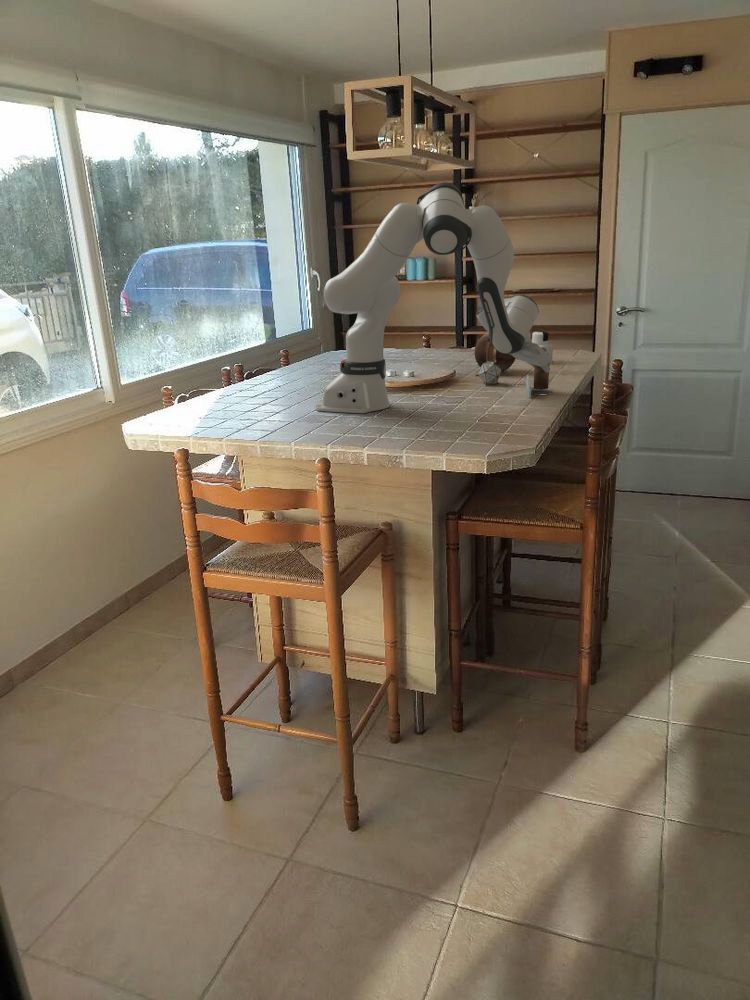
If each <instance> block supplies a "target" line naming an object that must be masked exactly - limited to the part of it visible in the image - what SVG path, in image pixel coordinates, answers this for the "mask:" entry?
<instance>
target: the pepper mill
mask: <svg viewBox="0 0 750 1000" xmlns="http://www.w3.org/2000/svg"><path fill="white" fill-rule="evenodd" d="M541 348H542V349H543V350H544V351H545V352H546V349H545V348H544V347H541ZM547 354H548V353H547ZM548 355H549V354H548ZM548 366H549V367H550V364H548ZM533 369H534V370H533V390H537V389H542V390H549V381H550V380H549V379H550V371H549V372H548V373H546V372H544V371H543V370H542V368H541V367H540V366H537V365H534V367H533Z"/></svg>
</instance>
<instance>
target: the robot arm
mask: <svg viewBox="0 0 750 1000" xmlns="http://www.w3.org/2000/svg"><path fill="white" fill-rule="evenodd" d="M464 203H465V200H464V197H463V195H462V192H461V190H460V189H459V188H458V187H457V186H456V185H455V184H453V183H451V182H445V181H444V182H439V183H436V184H435V185H433V186H431V187H430V188H429V189H428V190H427V191H426V192H425V193H423V194H420V195H419V196H418V198H417V200H416V204H412V203H411V202H399V203H397V204H396V205H395V206H394V207H393V208H392V209H391V210H390V211H389V212H388V214H387V215H386V216H385V217H384V218H383V219H382V221H381V223H380V224H379V226H378V228H377V229H376V231H375V233H374V234H373V236H372V238H371V239H370V241H369V242H368V244H367V246H366V247H365V248H364V250H363V251H362V253H360V255H359V256H358V257H357V258H355V260H353V262H352V263H350V265H348V267H347V268H345V269H343V271H342V272H340V273H339V274H337V275H335V276H334V277H332V278H330V279H329V280H327V282H326V283H325V285H324V288H323V301H324V303H325V305H326V307H327V308H328V310H329V311H331V312H333V313H335V314H341V315H343V314H344V315H353V314H356V315H357V316H356V319H355V322H354V323H353V325H352V326H351V327H350V328H349V329H348V330H347V332H346V334H345V348H346V349H345V351H346V355H345V356H346V359H345V358H344V359H341V361H340V364H339V369H340V370H339V371H340V373H339V374H338V375H337V376H336V377H334V378H333V379H332V380H331V381H330V382H328V383H327V384H326V386H324V390H323V392H322V393H323V394H322V399H321V400H319V401H318V402H316V404H315V410H316V411H318V412H332V413H334V412H335V413H352V414H366V413H370V412H375V411H381V410H385V409H388V408H389V407H390V406H391V404H390V400H389V396H388V391H387V386H386V376H387V370H386V369H387V367H386V365H387V364H386V360H385V358H384V338H385V336H384V335H385V334H384V333H385V328H386V324H387V322H388V317H389V316H390V313H391V312H392V311H391V310H393V308H394V307H395V306H396V304H397V303H398V302H399V300H400V298H401V293H402V291H401V290H402V288H401V285H400V284H401V283H400V281H399V279H398V278H397V277H396V276H397V275H398V274H399V272H400V271H401V269H402V268H403V266H404V265H405V263H406V262H407V260H408V259H409V257H410V255H411V254H412V252H413V251H414V249H415V247H416V246H417V244H418V243H419V242H420V241H421V240H423V241H424V243H425V245H426V247H427V249H428V250H429V251H430V252H431V253H433V254H434V255H438V256H448V255H451V254H454V253H456V252H458V251H462V250H464V249H466V248H467V249H468V251H469V254H470V256H471V258H472V261H473V264H474V265H473V266H474V269H475V273H476V279H477V291H478V292H477V293H478V296H479V300H480V303H481V304H480V306H478V309H477V311H476V314H475V315H476V318H477V320H478V322H479V323H480V325H481V326H482V327H483V329H485V331H486V333H489V339H490V342H491V344H492V346H493V347H494V348H495V349H496V350H497V351H498V352H500V353H502V354H511V355H512V356H513V357H515V360H518V361H522V362H525V363H526V362H528V363H529V364H528V365H530V366H532V367H533V368H534V365H537V366H540V367H541V368H542V370H543V371H544V372H546V373H548V372H549V373H550V371H551V368H550V364H551V363H550V362H551V361H552V362H553V358H552V359H551V357H550V356H549V355H548V354H547V353H546V352H545V351H544V350H543V349H542V348H541V347H540V346H539V345H537V344H535V343H532V339H531V337H532V334H531V333H530V331H531V330H532V328H533V325H534V324H535V322H536V320H537V317H538V315H539V313H540V311H539V306H538V305H537V303H536V301H535V300H534V299H533V298H531V297H530V296H528V295H525V294H517V295H514V296H512V297H507V298H505V289H506V286H507V282H508V279H509V276H510V274H511V270H512V267H513V265H514V262H515V254H514V253H515V252H514V251H515V250H514V245H513V243H512V241H511V238H510V235H509V233H508V231H507V229H506V227H505V224H504V222H503V221H502V219H501V218H500V216H499V215H498V213H497V212H496V210H495V209H494V208H493V207H491V206H489V205H483V204H482V205H478V206H475V207H473V208H465V204H464ZM549 363H550V364H549ZM548 364H549V366H548Z"/></svg>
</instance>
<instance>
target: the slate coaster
mask: <svg viewBox="0 0 750 1000" xmlns="http://www.w3.org/2000/svg"><path fill="white" fill-rule="evenodd" d="M551 392H552V390H550V389H531V393H533V394H549V393H551ZM533 394H532V395H533ZM551 394H552V393H551ZM549 395H550V394H549Z"/></svg>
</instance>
